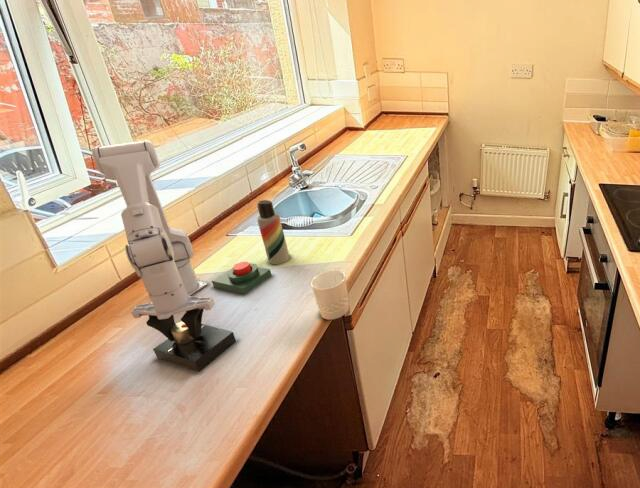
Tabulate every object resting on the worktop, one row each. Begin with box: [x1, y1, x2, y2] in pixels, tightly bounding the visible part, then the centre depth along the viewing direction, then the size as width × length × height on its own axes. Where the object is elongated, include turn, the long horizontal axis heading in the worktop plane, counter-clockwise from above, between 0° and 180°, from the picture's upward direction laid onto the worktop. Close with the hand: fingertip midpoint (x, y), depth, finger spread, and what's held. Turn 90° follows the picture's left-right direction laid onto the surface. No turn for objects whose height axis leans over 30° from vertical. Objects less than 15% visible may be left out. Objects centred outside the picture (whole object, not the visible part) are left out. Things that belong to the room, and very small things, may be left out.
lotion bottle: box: [256, 199, 290, 265], centre depth 120 cm, size 6×6×20 cm
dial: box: [171, 320, 196, 345], centre depth 89 cm, size 4×4×4 cm
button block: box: [211, 262, 272, 295], centre depth 113 cm, size 11×9×4 cm
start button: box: [232, 261, 251, 275], centre depth 112 cm, size 4×4×2 cm
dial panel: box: [152, 323, 237, 373], centre depth 90 cm, size 12×9×3 cm
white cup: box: [310, 269, 350, 321], centre depth 101 cm, size 8×8×10 cm
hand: (186, 336), depth 90 cm, fingers closed on dial, 4 cm apart
